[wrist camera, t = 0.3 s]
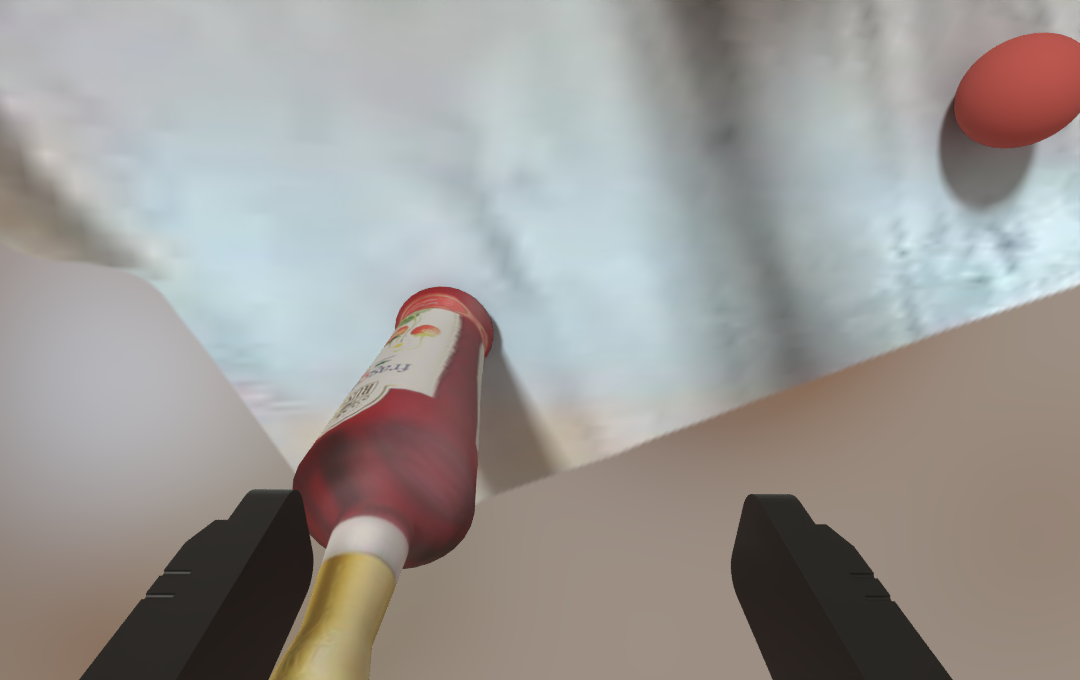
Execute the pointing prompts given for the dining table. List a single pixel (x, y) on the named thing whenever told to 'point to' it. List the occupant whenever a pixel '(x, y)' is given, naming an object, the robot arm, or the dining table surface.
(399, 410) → the red condiment bottle
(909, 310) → the dining table surface
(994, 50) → the ball
